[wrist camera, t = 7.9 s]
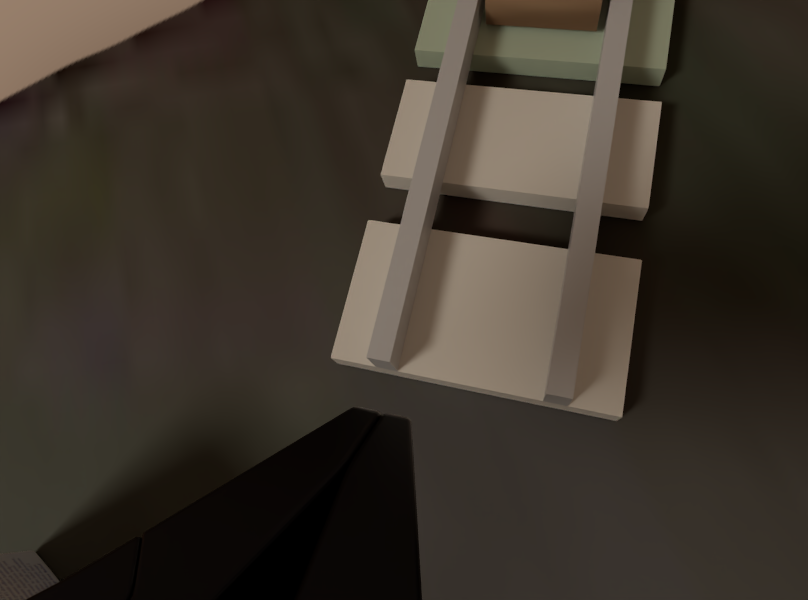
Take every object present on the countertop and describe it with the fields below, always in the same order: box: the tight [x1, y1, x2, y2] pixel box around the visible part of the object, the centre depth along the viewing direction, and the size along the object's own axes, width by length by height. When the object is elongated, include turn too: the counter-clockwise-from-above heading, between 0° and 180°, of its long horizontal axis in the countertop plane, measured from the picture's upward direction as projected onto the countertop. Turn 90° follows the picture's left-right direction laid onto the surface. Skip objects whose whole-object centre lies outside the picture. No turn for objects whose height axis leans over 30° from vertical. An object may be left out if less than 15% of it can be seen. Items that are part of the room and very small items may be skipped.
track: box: [331, 0, 675, 421], centre depth 22 cm, size 20×10×4 cm, turn 166°
